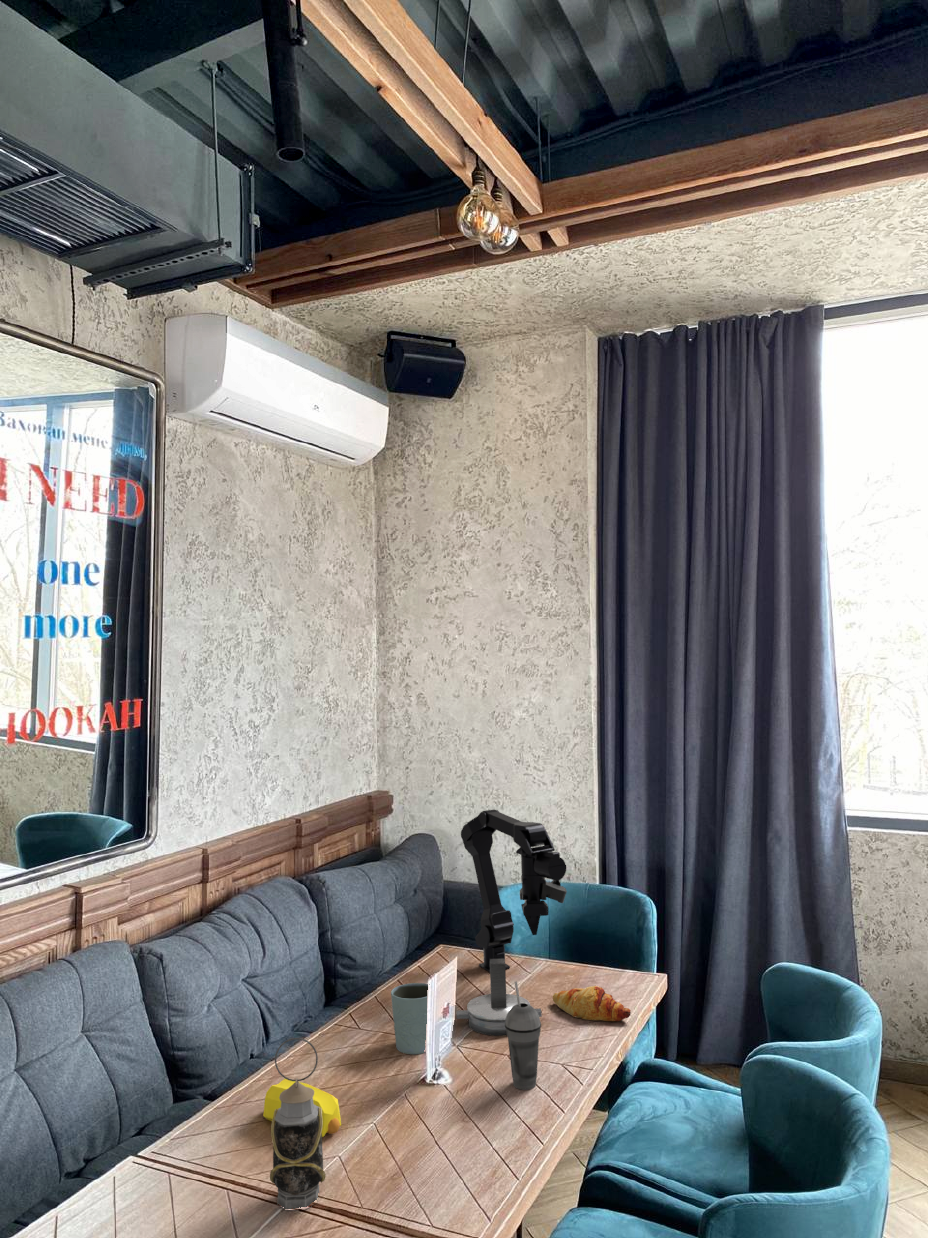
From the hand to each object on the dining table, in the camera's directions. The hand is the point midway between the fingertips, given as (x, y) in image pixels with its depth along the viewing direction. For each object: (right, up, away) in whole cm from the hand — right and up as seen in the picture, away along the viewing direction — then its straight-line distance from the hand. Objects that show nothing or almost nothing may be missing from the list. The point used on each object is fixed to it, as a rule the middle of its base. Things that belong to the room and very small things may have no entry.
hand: (534, 934), depth 237 cm
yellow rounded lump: (-48, -12, -68) cm, 84 cm away
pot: (-10, -12, -24) cm, 29 cm away
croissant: (+12, -12, -19) cm, 26 cm away
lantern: (-44, -11, -92) cm, 102 cm away
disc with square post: (-10, -9, -24) cm, 27 cm away
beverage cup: (-6, -11, -55) cm, 56 cm away
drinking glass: (-29, -13, -35) cm, 47 cm away
